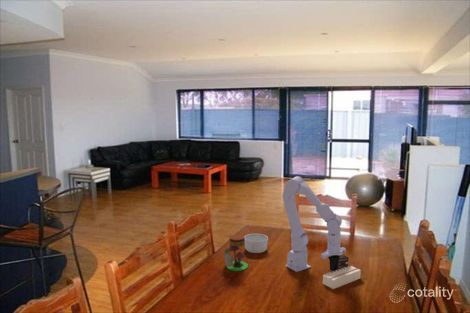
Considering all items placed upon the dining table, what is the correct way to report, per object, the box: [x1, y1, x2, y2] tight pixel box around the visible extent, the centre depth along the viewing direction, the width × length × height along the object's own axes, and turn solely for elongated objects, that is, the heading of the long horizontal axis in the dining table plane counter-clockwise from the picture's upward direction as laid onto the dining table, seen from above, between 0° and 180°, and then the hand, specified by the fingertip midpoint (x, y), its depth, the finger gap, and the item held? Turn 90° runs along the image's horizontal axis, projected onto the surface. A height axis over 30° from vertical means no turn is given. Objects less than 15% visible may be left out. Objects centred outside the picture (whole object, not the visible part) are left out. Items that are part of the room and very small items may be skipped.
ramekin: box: [244, 233, 269, 254], centre depth 208 cm, size 13×13×7 cm
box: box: [334, 253, 350, 271], centre depth 181 cm, size 6×6×7 cm
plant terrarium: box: [224, 234, 249, 272], centre depth 186 cm, size 12×13×15 cm
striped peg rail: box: [322, 265, 362, 290], centre depth 170 cm, size 18×6×4 cm, turn 124°
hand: (333, 269), depth 178 cm, fingers closed, pressing on box
